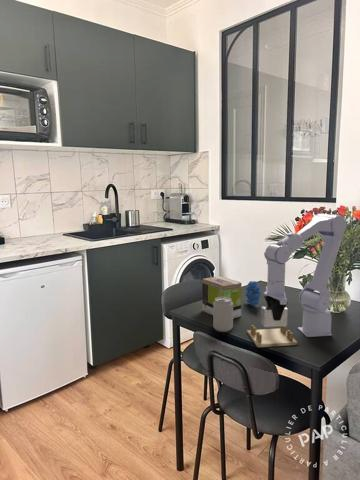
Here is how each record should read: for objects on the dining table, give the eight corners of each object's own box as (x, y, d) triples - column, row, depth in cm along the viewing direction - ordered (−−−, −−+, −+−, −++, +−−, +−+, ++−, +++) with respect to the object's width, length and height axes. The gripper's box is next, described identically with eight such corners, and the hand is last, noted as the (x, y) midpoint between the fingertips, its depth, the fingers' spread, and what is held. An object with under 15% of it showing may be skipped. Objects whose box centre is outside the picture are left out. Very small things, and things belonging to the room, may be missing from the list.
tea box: (242, 316, 149) (242, 282, 146) (223, 321, 144) (223, 286, 141) (219, 306, 161) (219, 274, 159) (201, 310, 156) (201, 278, 154)
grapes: (267, 309, 157) (268, 283, 155) (254, 311, 155) (254, 284, 153) (255, 301, 168) (255, 276, 166) (242, 302, 166) (242, 277, 164)
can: (209, 328, 136) (209, 298, 135) (221, 323, 142) (221, 294, 140) (224, 334, 131) (224, 303, 129) (236, 328, 136) (237, 298, 134)
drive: (283, 321, 125) (283, 305, 124) (287, 325, 122) (287, 309, 121) (261, 323, 125) (261, 306, 124) (264, 327, 121) (264, 310, 120)
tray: (283, 330, 134) (283, 321, 133) (297, 344, 122) (297, 335, 122) (247, 332, 132) (247, 323, 132) (257, 347, 121) (257, 337, 120)
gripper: (257, 274, 127) (256, 311, 130) (272, 286, 113) (271, 326, 115) (276, 274, 128) (275, 310, 130) (293, 285, 114) (292, 325, 116)
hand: (274, 317), depth 123 cm, fingers closed on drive, 3 cm apart
